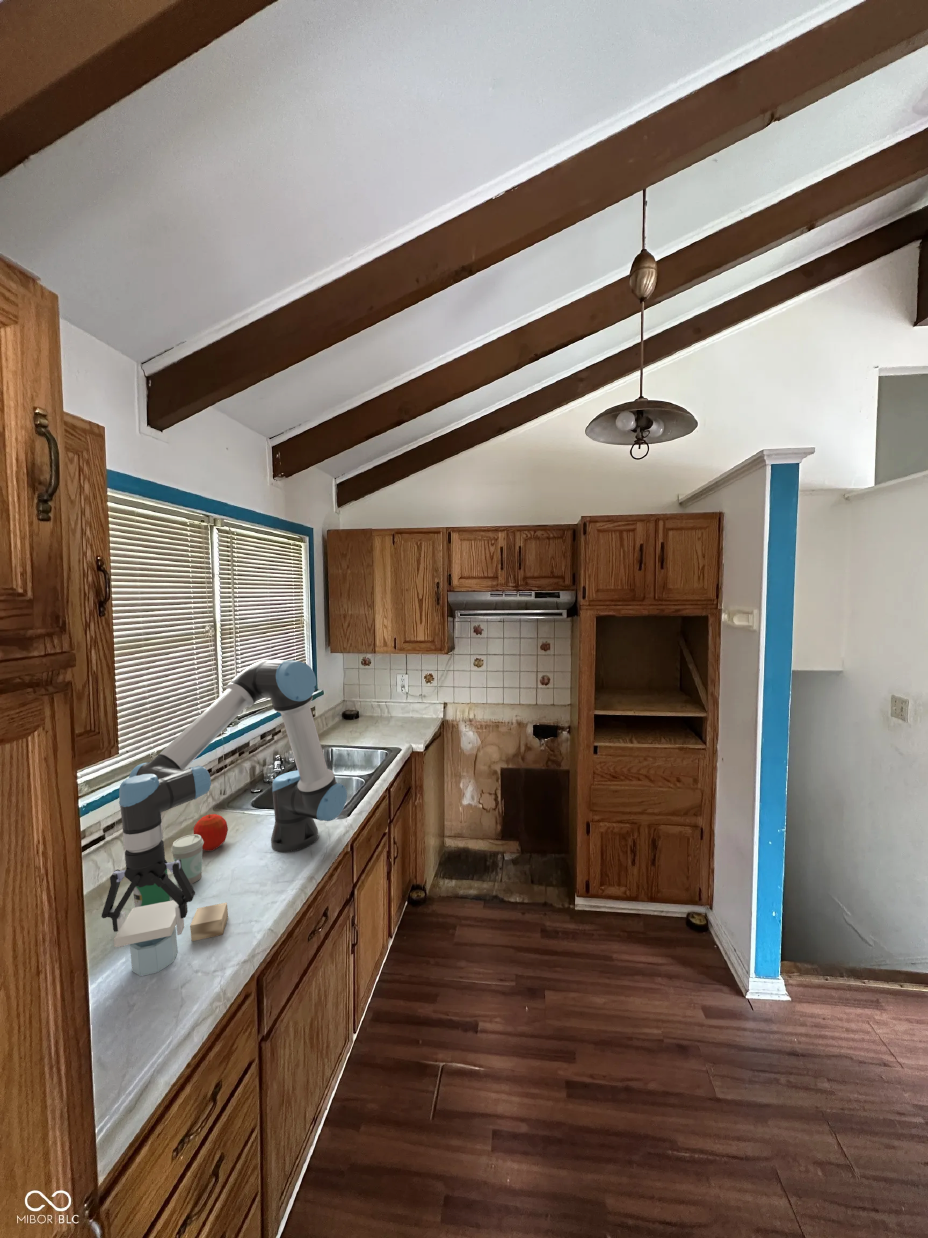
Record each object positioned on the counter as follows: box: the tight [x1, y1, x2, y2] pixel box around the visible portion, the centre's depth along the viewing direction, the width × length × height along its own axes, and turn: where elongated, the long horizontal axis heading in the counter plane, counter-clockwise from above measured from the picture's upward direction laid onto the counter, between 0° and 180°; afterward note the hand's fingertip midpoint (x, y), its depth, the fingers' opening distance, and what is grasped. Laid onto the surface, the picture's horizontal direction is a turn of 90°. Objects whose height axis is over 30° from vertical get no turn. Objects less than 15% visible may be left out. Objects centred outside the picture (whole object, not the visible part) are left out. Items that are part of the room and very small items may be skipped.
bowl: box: [129, 926, 179, 977], centre depth 115 cm, size 8×8×6 cm
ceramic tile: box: [113, 899, 177, 948], centre depth 115 cm, size 11×11×2 cm
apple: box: [193, 813, 229, 852], centre depth 168 cm, size 10×10×12 cm
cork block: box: [189, 902, 229, 942], centre depth 126 cm, size 7×7×4 cm
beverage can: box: [132, 869, 171, 908], centre depth 135 cm, size 8×8×12 cm
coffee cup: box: [170, 833, 204, 885], centre depth 149 cm, size 9×8×12 cm
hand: (152, 937), depth 115 cm, fingers closed on ceramic tile, 11 cm apart
